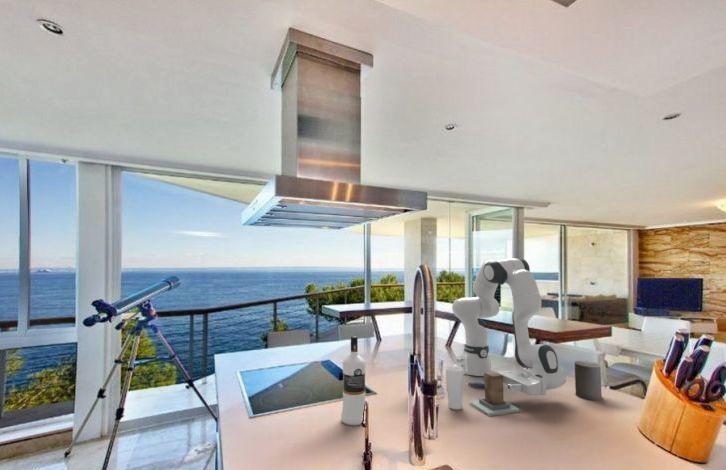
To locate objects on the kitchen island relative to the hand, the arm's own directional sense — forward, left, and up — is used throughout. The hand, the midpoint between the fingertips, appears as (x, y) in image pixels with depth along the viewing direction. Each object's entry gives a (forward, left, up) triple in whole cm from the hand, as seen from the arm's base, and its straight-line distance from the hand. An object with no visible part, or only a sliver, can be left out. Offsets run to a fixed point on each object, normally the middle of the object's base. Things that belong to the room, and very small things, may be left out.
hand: (501, 383), depth 145 cm
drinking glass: (-5, -18, -9) cm, 21 cm away
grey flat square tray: (0, -4, -9) cm, 10 cm away
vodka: (-5, -60, -9) cm, 60 cm away
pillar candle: (+1, +43, -9) cm, 45 cm away
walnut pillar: (0, -3, -8) cm, 9 cm away
